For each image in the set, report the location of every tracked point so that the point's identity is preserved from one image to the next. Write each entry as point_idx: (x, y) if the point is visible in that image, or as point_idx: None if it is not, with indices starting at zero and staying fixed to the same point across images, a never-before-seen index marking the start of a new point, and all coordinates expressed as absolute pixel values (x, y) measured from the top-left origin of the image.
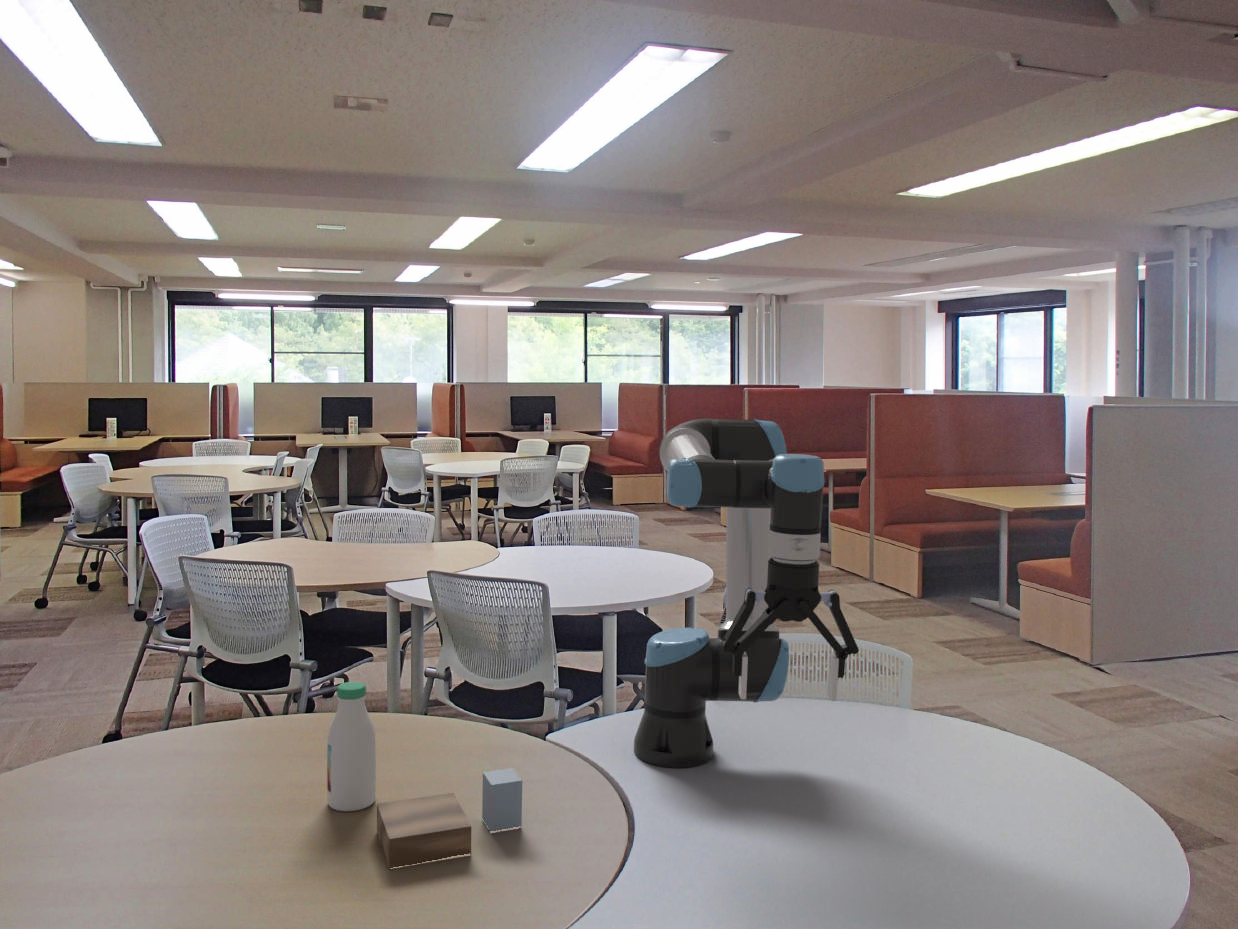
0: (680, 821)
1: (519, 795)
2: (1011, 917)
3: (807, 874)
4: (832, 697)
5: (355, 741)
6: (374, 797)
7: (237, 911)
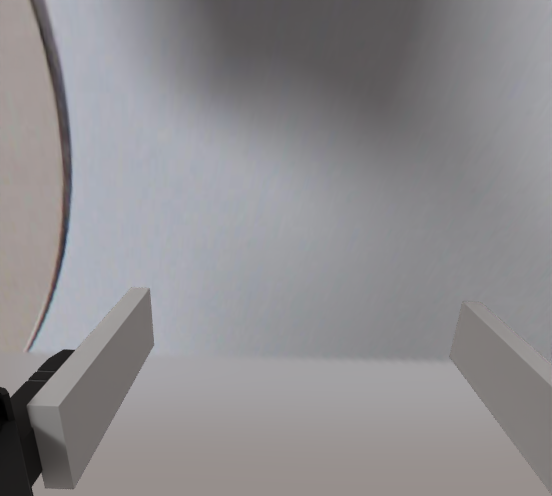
0: (144, 108)
1: None
2: None
3: (307, 269)
4: (457, 364)
5: None
6: None
7: None
